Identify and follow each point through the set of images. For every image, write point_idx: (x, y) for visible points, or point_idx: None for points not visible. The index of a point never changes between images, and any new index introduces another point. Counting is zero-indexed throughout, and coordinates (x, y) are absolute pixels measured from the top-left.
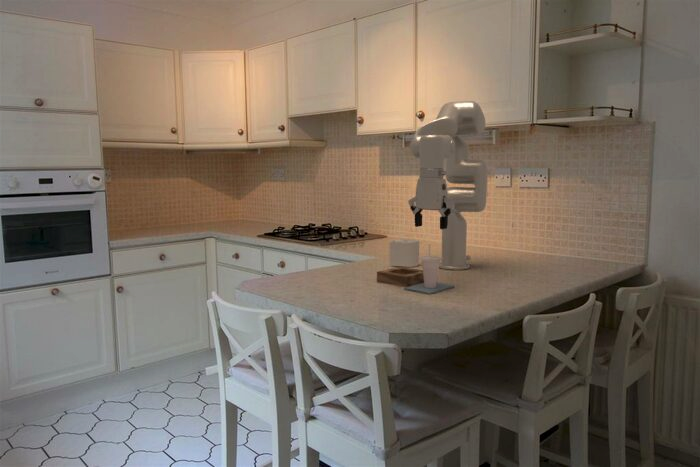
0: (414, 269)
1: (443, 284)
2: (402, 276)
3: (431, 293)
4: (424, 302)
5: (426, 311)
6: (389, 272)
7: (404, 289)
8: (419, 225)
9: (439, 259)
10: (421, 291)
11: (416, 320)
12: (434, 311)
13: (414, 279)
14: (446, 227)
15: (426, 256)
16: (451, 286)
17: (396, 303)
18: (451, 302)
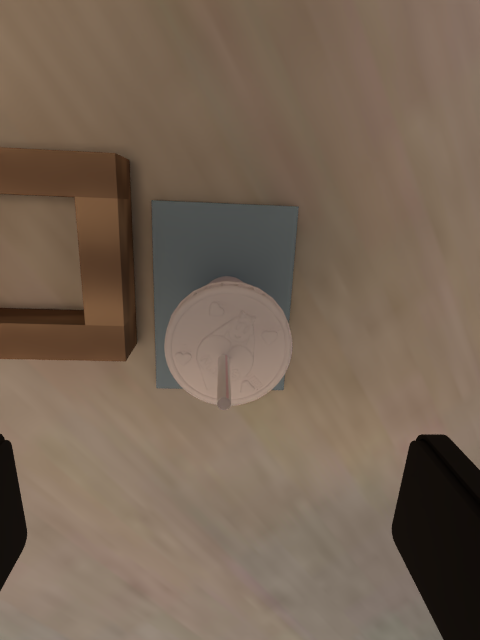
0: (9, 162)
1: (246, 218)
2: (97, 359)
3: (283, 376)
4: (324, 478)
5: (380, 547)
6: None
7: (159, 385)
8: (14, 497)
9: (291, 341)
10: None
11: (397, 614)
12: None
13: (128, 296)
14: (444, 448)
15: (176, 324)
16: (296, 230)
17: (261, 536)
18: (398, 426)
